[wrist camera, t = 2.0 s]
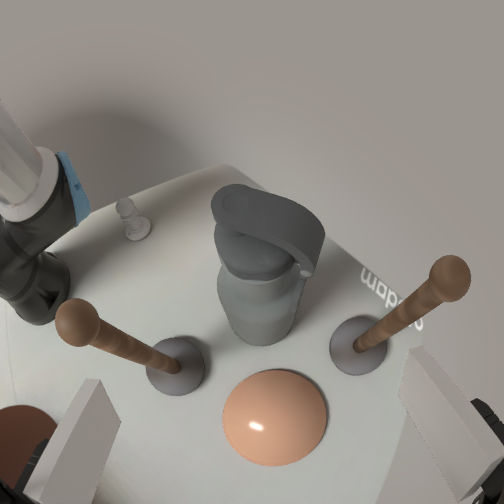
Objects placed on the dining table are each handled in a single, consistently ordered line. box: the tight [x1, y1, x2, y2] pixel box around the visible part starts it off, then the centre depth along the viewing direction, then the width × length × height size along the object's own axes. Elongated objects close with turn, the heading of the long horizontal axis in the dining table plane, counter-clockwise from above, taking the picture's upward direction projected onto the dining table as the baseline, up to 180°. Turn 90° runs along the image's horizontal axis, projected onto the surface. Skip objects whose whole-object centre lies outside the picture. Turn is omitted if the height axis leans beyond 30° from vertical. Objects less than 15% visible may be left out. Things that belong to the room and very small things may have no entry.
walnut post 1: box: [55, 298, 204, 396], centre depth 30 cm, size 9×9×29 cm
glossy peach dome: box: [223, 370, 327, 466], centre depth 38 cm, size 15×15×1 cm
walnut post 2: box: [329, 255, 471, 375], centre depth 30 cm, size 9×9×29 cm
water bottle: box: [211, 184, 325, 346], centre depth 34 cm, size 10×10×28 cm
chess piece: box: [116, 197, 151, 241], centre depth 51 cm, size 5×5×9 cm
